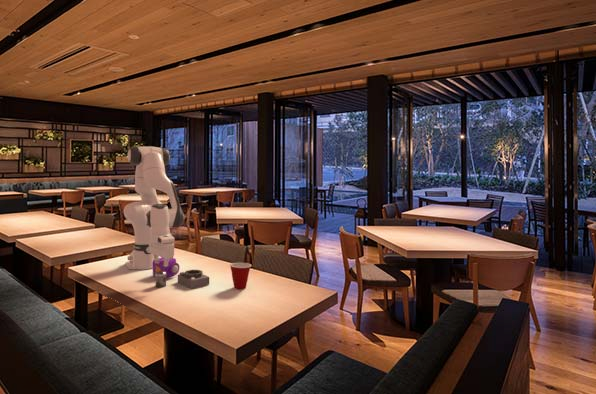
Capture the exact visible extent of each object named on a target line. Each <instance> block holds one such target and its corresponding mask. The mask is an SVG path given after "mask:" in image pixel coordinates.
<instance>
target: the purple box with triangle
mask: <svg viewBox="0 0 596 394" xmlns="http://www.w3.org/2000/svg"><path fill="white" fill-rule="evenodd" d="M164 261H165V260H164V258H163V257H159V263H155V260H153V268H152V276H153V277H155V272H158V271H166V279H167V278H169V277H173V276H175V275H178V274H179V273H180V268H181V267H180V264H179V263H178V262H177V259H176V258H174V257H173V258H170V259H169V262H168V266H167V267H164V266H163V263H164Z"/></svg>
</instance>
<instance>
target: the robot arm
mask: <svg viewBox="0 0 596 394" xmlns="http://www.w3.org/2000/svg"><path fill="white" fill-rule="evenodd" d="M170 158H171V155H170V151H169V150H168V148H164V147H158V146H157V147H156V146H151V145H149V146H138V145H136V146H135V145H133V146H131V147H130V148H129V149H128V151H127V159H128V162H129V163H130V165H133V166H136V167H135V173H134V191H135V192H136V193H137V194H139V196H140V198H141V201H133V202H131V203H128V204H126V205H125V206H124V209H123V216H124V218H125V219H126V220H128V221H129V222H130V223H131V225H132V227H133V232H134V244H133V250H132V251H131V253H130V254H129V255H128V256H127V261H126V262H124V265H125V266H126V268H127V269H128V270H139V271H141V270H151V269H153V260H155V263H159V258H162V257H163V258H164V260H165V261H164V263H163V266H164V267H167V266H168V262H169V259H170V258H174V257H175V237H174V236H173V235H172V233H171V230H170V229H171V228H172V229H173V228H175V229H177V228H180V227H181V226H182V225H184V223H185V215H184V211H183V210H182V207H181V204H180V199H179V196H178V194H177V193H178V192H177V189H176V187H175V184H174V182H173V181H172V180H171V179H170V178H168V176H167V174H166V168H165V166H168V164H169V163H170V160H171V159H170ZM156 190H158V191H161V192H163V193H165V194H166V195H167V197H168V199H169V202H170V205H171V206H170V207H171V208H169V207H168V205H167V204H164V203H162V201H160V199H159V198H158V196H157V195H158V194H157V191H156Z"/></svg>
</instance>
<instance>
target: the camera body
mask: <svg viewBox="0 0 596 394" xmlns="http://www.w3.org/2000/svg"><path fill="white" fill-rule="evenodd" d="M203 273H204V272H203V270H201V269H188V270H185V272H184V271H182V272H179V273H178V274H177V283H178V284H181V285H183V286H185V287H187V288H189V289H191V290H192V289H197V288H201V287H205V286H210V276H209V275H205V274H203Z"/></svg>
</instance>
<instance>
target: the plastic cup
mask: <svg viewBox="0 0 596 394" xmlns="http://www.w3.org/2000/svg"><path fill="white" fill-rule="evenodd" d="M229 266H230V271H231V277H232V283H233V287H234V289H235V290H245V289H246V288H247V286H248V285H247V284H248V279H249V273H250V269H251V268H252V264H251V263H247V262H231V263H229Z"/></svg>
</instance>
